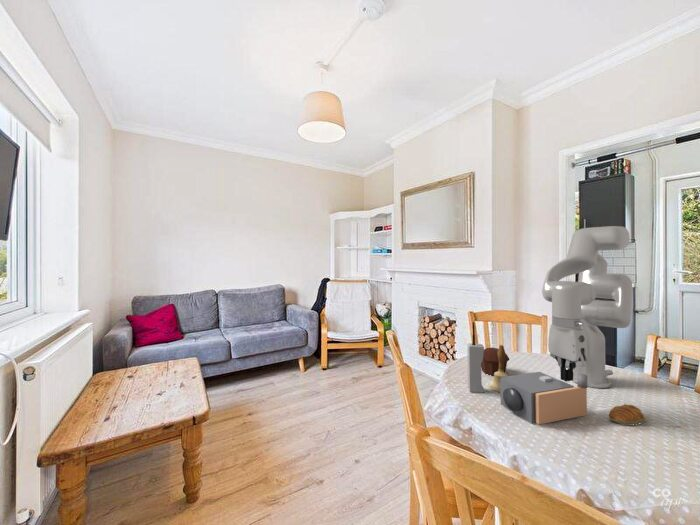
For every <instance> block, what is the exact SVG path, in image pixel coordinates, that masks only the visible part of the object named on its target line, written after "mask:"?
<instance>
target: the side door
mask: <svg viewBox="0 0 700 525" xmlns="http://www.w3.org/2000/svg"><path fill="white" fill-rule="evenodd" d="M576 384H577V385H576V386H574V387H572V388H566V389H560V390H554V391H548V392H542V393H536V423H535V424H537V425H543V424H547V423H548V424H549V423H552V422H553V423H554V422H557V421H562V420H568V419H569V420H570V419H573V418H578V417H582V416H588V412H587V410H588V409H587V407H588V406H587V405H588V404H587V402H588V397H587V393H588V392H587V391H588V390H587V389H588V386H587V375H584V374H577V383H576Z"/></svg>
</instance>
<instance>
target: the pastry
mask: <svg viewBox="0 0 700 525" xmlns="http://www.w3.org/2000/svg"><path fill="white" fill-rule="evenodd" d="M608 416H609V420H610V421H612V422H615V423H617V424H619V425H623V426H627V425H626V424H634V425H633V426H636V424H638V425H640V424H639V423H642V422H644V423H645V422H646V421H647V417H646V416H645V414H644V413H643V412H642V410H641V409H640V408H639V407H637V406H635V405H632V404H625V403H624V404H622V405H616V406H614V407H613V408H612V409H611V410H610V411H609V414H608ZM642 424H643V423H642Z"/></svg>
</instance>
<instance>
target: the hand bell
mask: <svg viewBox="0 0 700 525" xmlns="http://www.w3.org/2000/svg"><path fill="white" fill-rule="evenodd" d="M497 349H498V352H497V355H498V360H499V369H498V371H497V372H495V373H494V376H493V379H492V380H491V382H490V383H489V384H488V388H489V389H491V390H493V391H494V392H498V393H501V379H500V377H506V376H509V375H508V373H506V372H505V373H504V360H505V353H506V350H505V347H504V345H502V344H500V345H499V346H498V348H497Z"/></svg>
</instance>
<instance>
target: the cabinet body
mask: <svg viewBox="0 0 700 525" xmlns="http://www.w3.org/2000/svg"><path fill="white" fill-rule="evenodd" d="M500 379H501V392H500V405H501V406H503V407H504V408H505V409H508V410H509V411H511V412H512V413H513V414H516V415H517V416H519V417H520V418H522V419H523V420H524V421H526V422H528V423H530V424H531V425H533V424H537V423H536V393H542V392H548V391H554V390H560V389H566V388H572V387H575V386H574V385H573V384H570V383H568V382H566V381H564V380H561V379H557V378H556V377H553V376H551V375H548V374H546V373H544V372H541V371H534V372H527V373H520V374H514V375H508V376H506V377H500Z"/></svg>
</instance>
